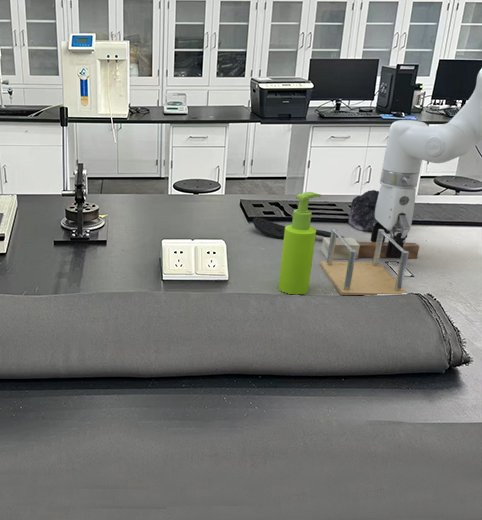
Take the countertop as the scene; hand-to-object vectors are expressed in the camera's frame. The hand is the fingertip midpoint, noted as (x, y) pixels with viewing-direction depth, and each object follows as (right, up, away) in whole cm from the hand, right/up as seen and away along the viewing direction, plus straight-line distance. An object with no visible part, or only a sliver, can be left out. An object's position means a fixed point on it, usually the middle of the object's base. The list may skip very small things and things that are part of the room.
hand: (384, 249), depth 125 cm
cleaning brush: (-3, -1, +1) cm, 3 cm away
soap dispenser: (-26, -9, -16) cm, 31 cm away
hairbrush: (-16, +3, +13) cm, 21 cm away
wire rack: (-11, -7, -12) cm, 17 cm away
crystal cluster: (+6, +7, +21) cm, 23 cm away
